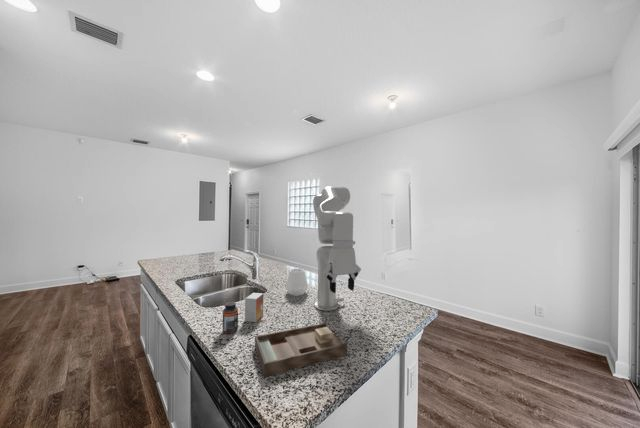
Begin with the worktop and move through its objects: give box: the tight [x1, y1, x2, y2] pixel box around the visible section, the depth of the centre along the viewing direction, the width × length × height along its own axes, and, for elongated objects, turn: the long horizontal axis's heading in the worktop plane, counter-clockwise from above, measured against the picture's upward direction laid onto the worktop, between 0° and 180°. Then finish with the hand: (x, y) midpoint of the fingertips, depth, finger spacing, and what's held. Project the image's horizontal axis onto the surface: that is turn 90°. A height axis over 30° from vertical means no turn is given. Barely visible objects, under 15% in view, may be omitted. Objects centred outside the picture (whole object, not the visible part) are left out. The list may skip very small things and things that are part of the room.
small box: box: [244, 292, 264, 323], centre depth 113 cm, size 8×6×10 cm
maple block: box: [315, 326, 334, 344], centre depth 91 cm, size 5×5×3 cm
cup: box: [285, 268, 309, 297], centre depth 148 cm, size 13×13×14 cm
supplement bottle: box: [222, 301, 239, 334], centre depth 102 cm, size 6×6×11 cm
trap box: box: [254, 322, 348, 378], centre depth 88 cm, size 29×17×4 cm, turn 114°
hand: (342, 290), depth 94 cm, fingers open, 7 cm apart
